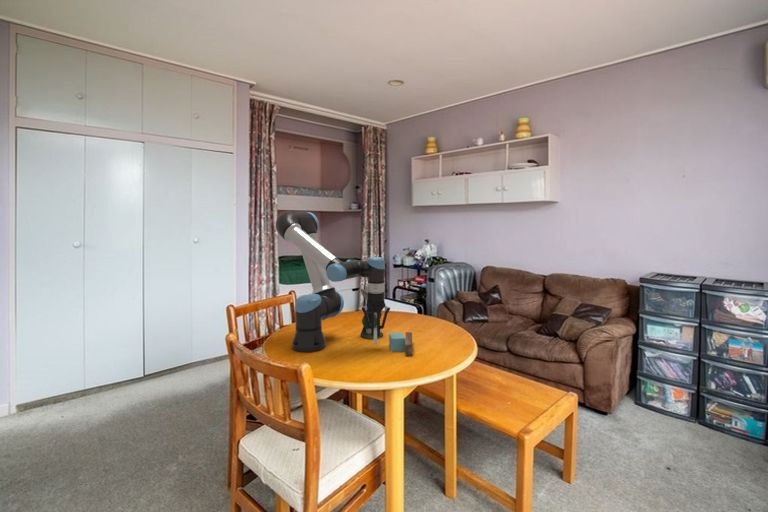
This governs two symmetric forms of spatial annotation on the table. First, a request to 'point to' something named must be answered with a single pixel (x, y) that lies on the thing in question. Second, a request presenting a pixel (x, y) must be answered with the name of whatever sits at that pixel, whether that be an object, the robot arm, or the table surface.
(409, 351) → the board
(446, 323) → the table surface
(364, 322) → the figurine
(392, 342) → the block
